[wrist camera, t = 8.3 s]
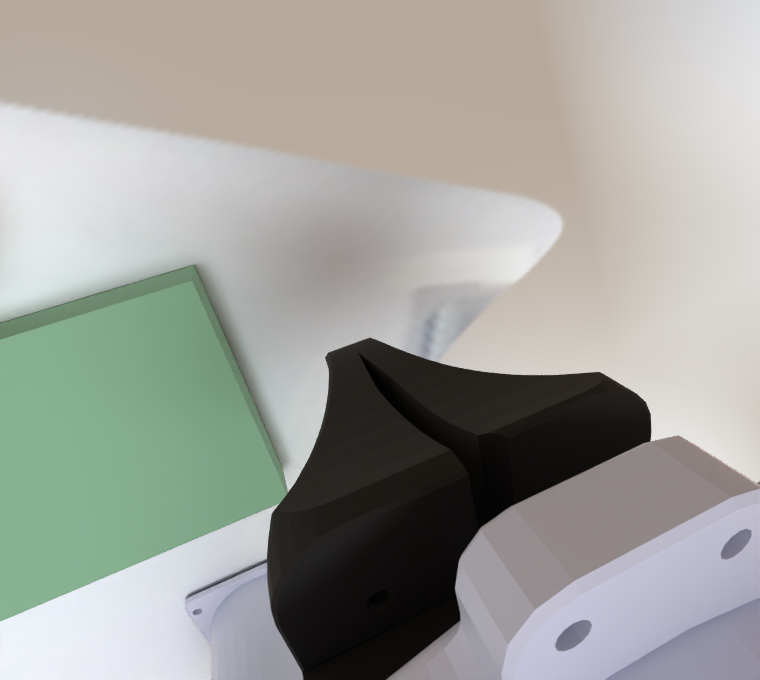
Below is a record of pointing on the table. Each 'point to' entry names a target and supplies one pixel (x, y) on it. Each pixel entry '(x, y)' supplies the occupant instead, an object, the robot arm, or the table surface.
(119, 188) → the table surface
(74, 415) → the green
